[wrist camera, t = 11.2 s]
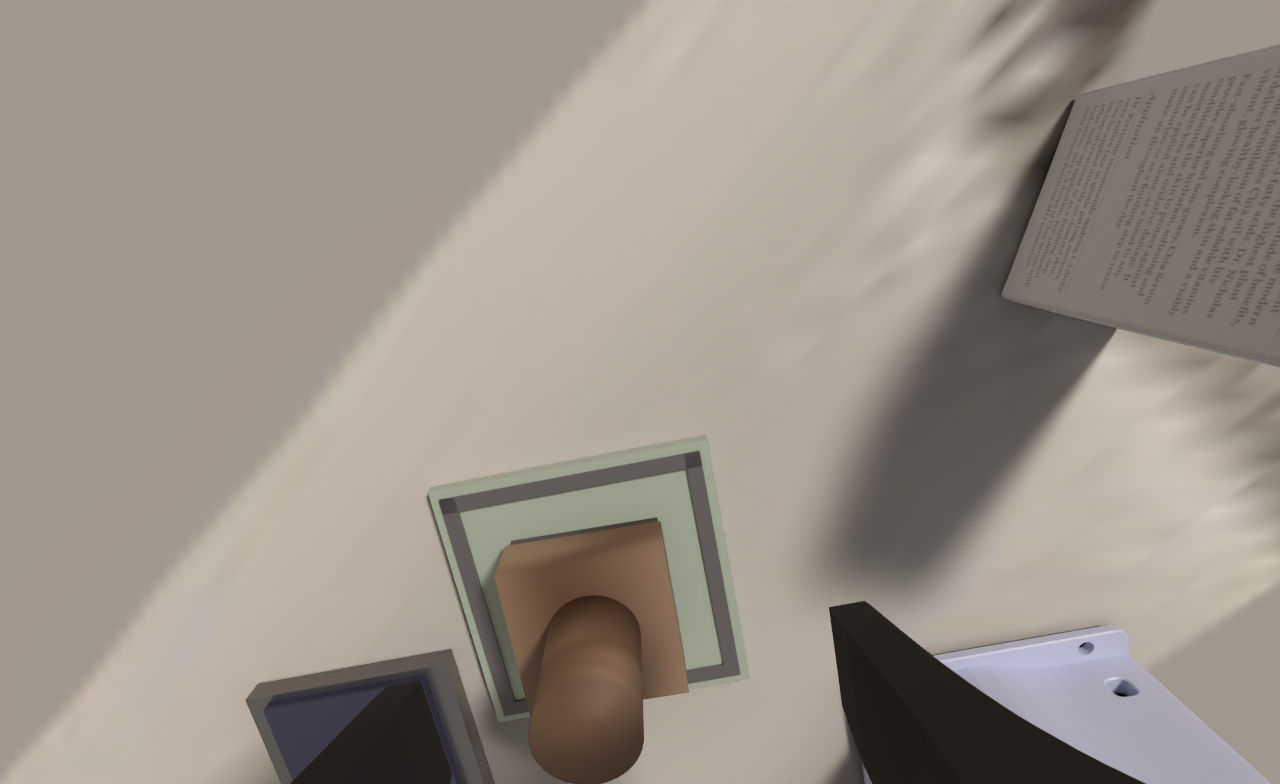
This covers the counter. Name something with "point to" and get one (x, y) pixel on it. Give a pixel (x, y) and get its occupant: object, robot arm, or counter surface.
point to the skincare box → (1166, 209)
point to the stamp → (591, 642)
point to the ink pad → (328, 701)
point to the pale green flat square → (587, 498)
